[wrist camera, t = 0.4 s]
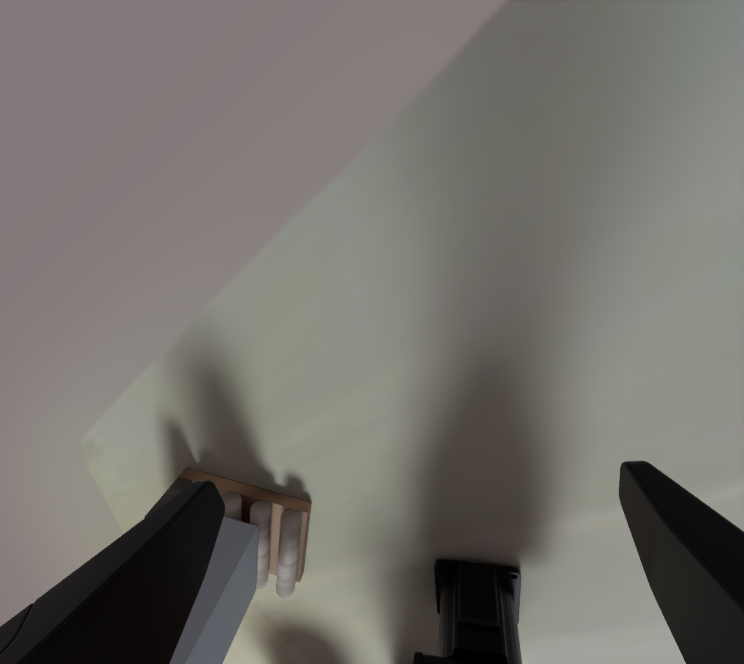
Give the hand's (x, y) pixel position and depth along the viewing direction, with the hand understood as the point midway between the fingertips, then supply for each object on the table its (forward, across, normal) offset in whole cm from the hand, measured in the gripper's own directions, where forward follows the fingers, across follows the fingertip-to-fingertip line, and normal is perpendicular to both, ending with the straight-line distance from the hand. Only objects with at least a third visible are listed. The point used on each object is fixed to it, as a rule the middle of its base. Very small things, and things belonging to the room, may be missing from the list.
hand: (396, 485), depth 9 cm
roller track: (+15, +19, +20) cm, 31 cm away
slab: (+12, +18, +20) cm, 30 cm away
